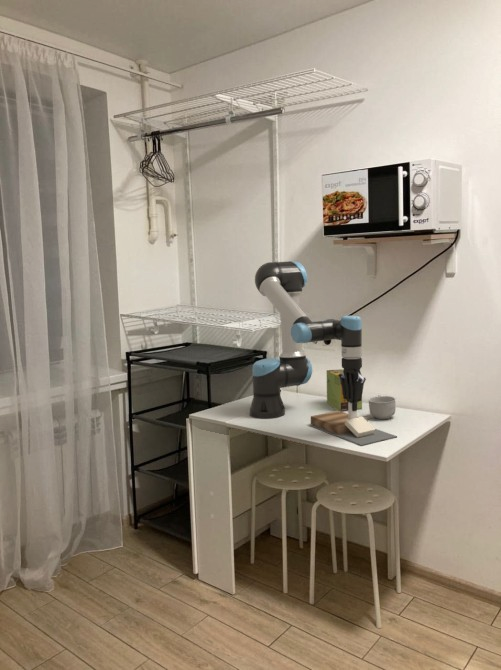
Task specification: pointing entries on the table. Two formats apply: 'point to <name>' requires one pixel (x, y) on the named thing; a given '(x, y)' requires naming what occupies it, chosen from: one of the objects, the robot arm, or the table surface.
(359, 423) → the coaster
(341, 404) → the protein box
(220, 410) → the table surface
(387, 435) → the mat
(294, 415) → the table surface
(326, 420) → the stand
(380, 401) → the teacup
